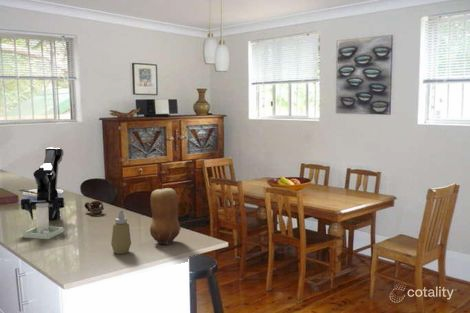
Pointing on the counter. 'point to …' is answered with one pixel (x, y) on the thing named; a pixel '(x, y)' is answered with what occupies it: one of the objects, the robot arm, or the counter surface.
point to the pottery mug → (94, 207)
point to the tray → (33, 234)
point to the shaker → (42, 217)
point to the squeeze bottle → (121, 235)
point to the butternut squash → (164, 215)
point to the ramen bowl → (33, 194)
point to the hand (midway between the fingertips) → (42, 218)
